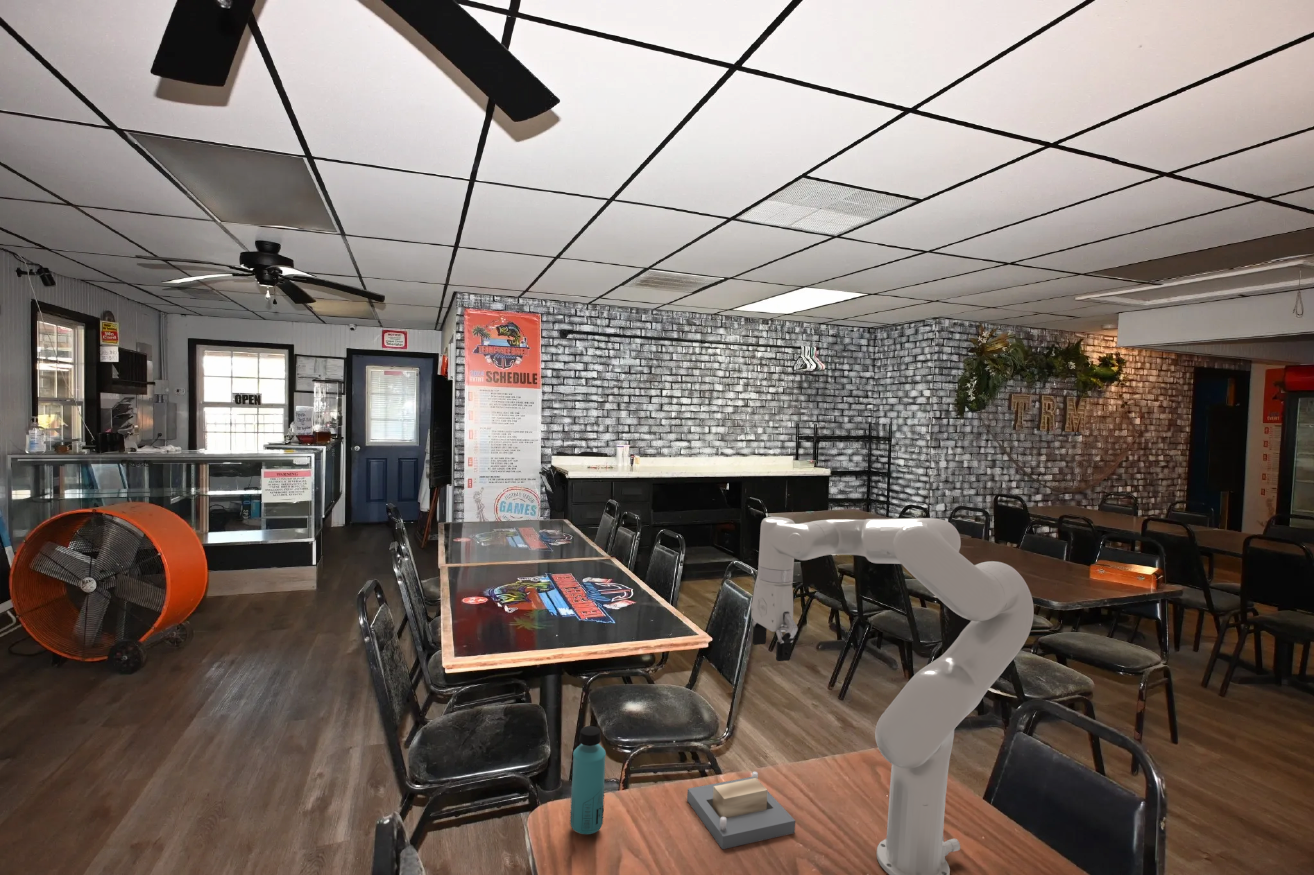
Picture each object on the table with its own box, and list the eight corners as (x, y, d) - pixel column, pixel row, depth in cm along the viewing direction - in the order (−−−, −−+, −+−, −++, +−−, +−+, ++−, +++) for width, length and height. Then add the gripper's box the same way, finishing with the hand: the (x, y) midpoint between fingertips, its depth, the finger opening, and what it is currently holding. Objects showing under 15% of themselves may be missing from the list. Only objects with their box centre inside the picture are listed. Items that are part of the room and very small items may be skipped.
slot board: (753, 787, 142) (754, 767, 141) (794, 833, 127) (795, 810, 127) (687, 800, 136) (688, 779, 136) (722, 849, 121) (723, 826, 121)
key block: (712, 815, 131) (713, 786, 131) (754, 806, 135) (755, 778, 135) (722, 828, 127) (724, 799, 127) (765, 818, 131) (767, 790, 131)
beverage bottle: (597, 845, 120) (602, 740, 119) (563, 839, 121) (568, 735, 121) (607, 824, 126) (612, 724, 126) (574, 818, 128) (579, 719, 127)
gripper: (740, 565, 147) (736, 639, 147) (782, 586, 131) (777, 669, 131) (769, 564, 150) (764, 637, 150) (813, 584, 133) (808, 665, 134)
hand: (770, 652), depth 141 cm, fingers open, 9 cm apart
